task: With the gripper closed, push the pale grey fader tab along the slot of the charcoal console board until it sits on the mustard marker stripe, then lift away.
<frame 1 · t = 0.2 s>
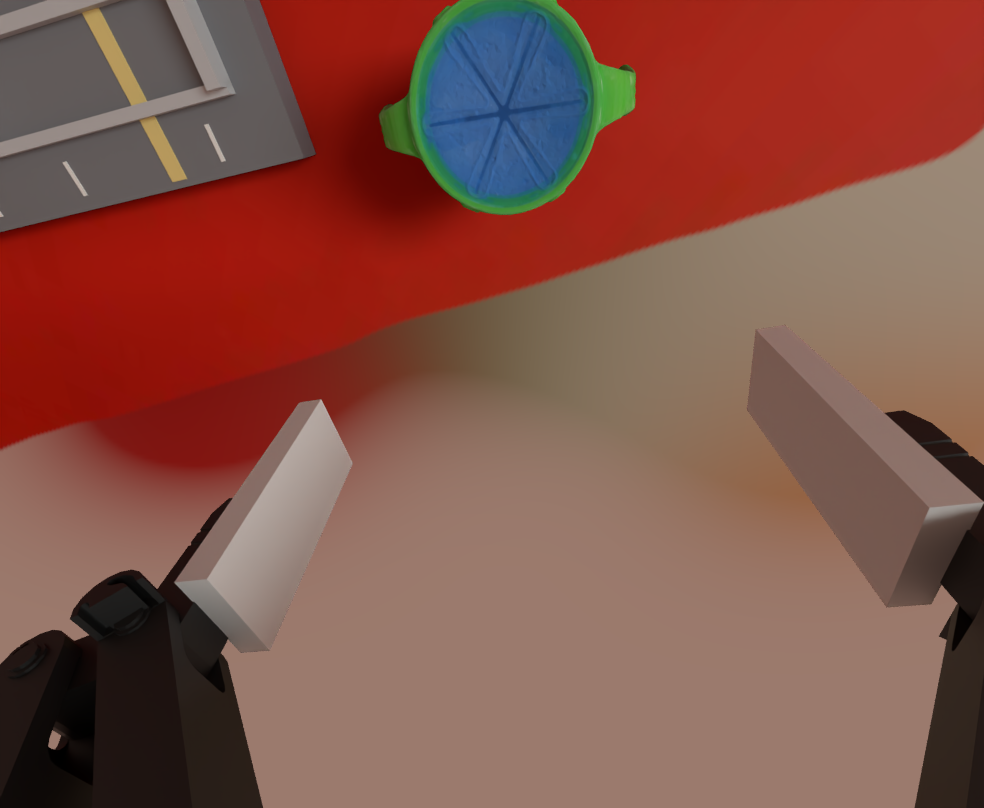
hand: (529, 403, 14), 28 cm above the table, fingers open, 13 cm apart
snack cup: (507, 107, 34), on the table
console: (70, 82, 34), on the table
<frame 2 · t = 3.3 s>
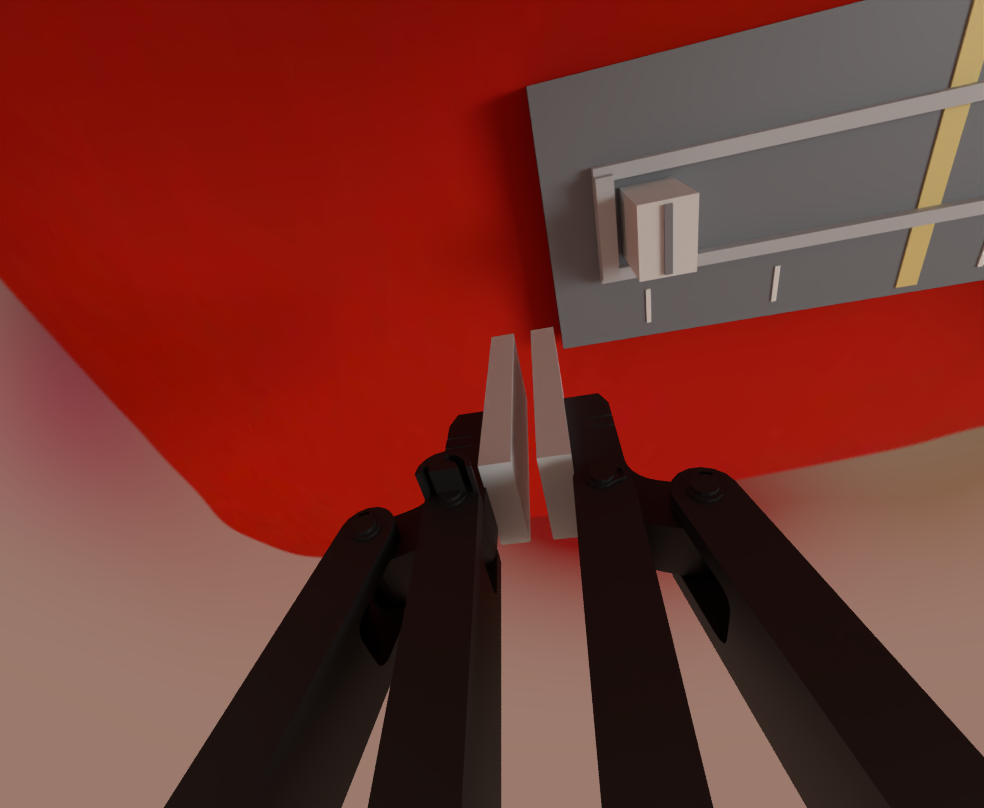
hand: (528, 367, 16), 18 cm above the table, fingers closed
fader tab: (656, 228, 26), point 5 cm above the table, slide at 0.0 cm
console: (803, 174, 29), on the table
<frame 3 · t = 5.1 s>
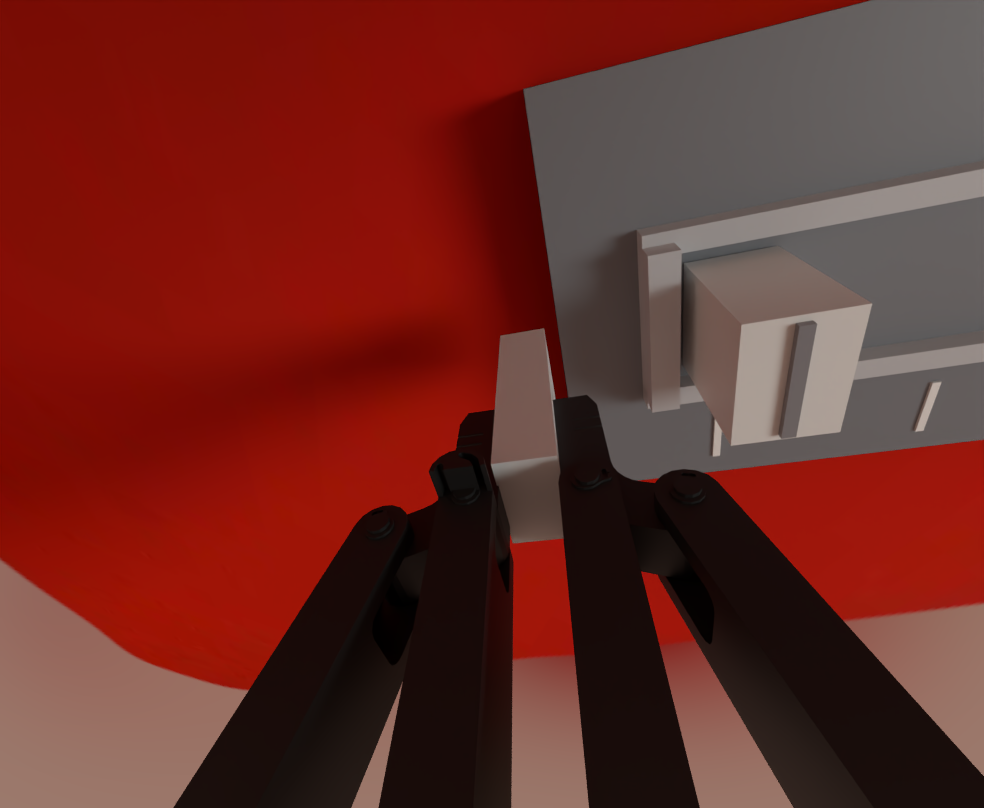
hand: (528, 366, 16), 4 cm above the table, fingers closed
fader tab: (756, 342, 15), point 5 cm above the table, slide at 0.0 cm
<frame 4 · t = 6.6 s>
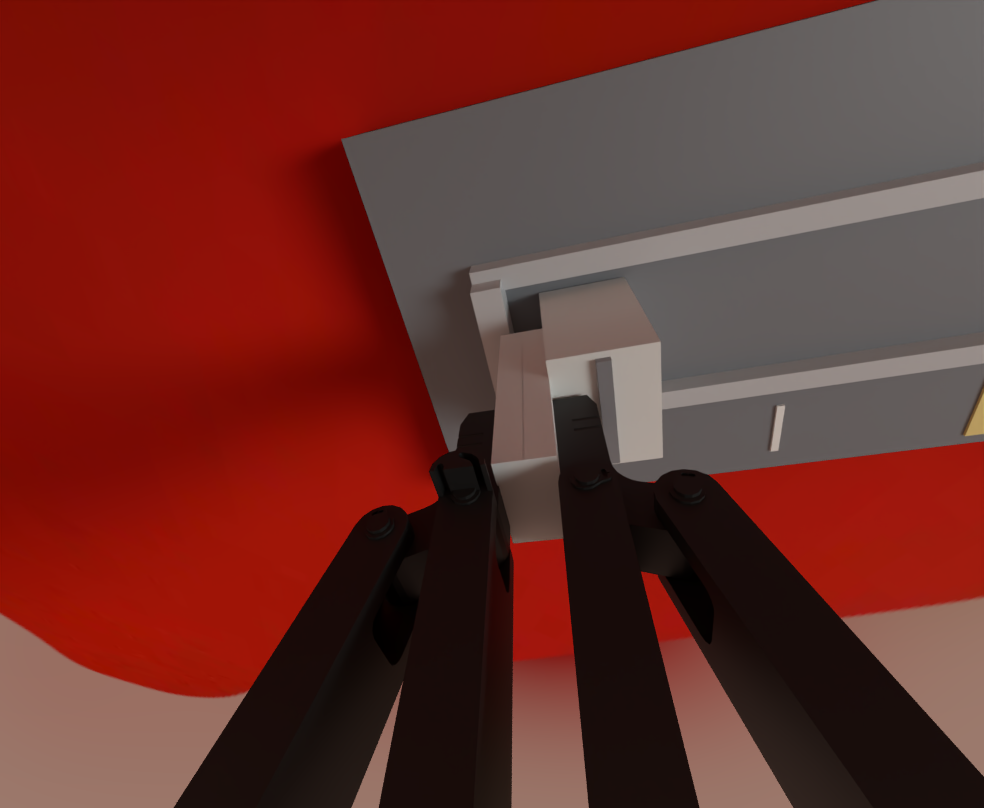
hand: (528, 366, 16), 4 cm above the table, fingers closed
fader tab: (596, 370, 15), point 5 cm above the table, slide at 0.7 cm, touching gripper
console: (820, 265, 18), on the table
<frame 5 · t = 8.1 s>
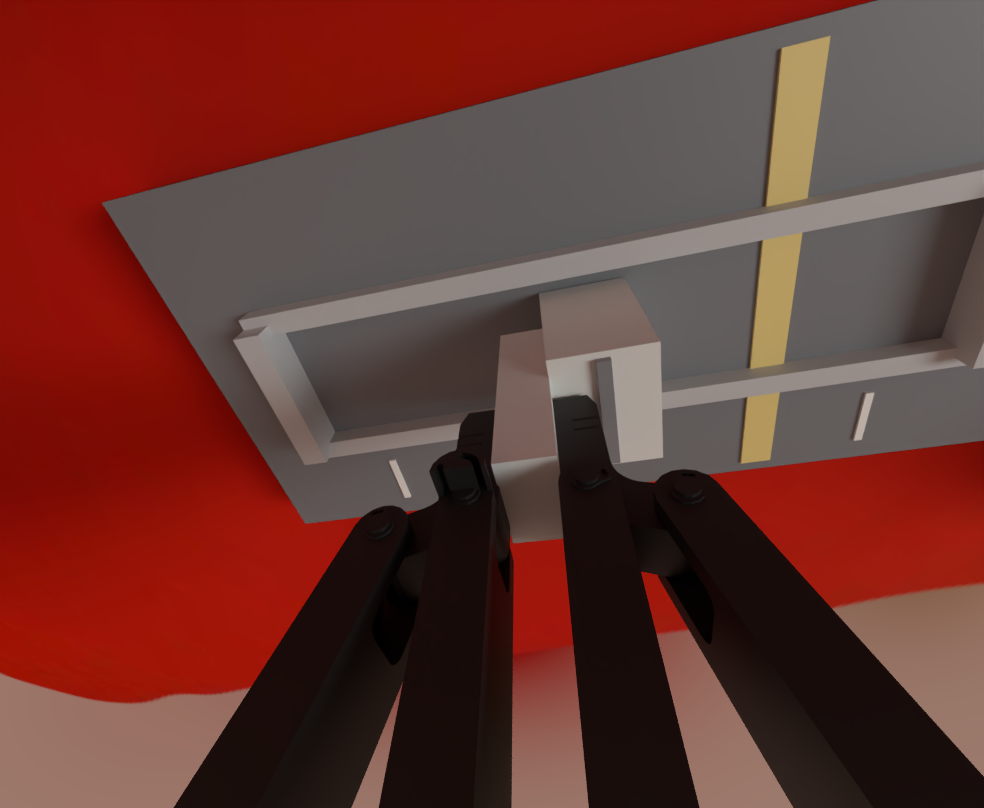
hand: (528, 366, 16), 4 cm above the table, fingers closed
fader tab: (596, 370, 15), point 5 cm above the table, slide at 9.4 cm, touching gripper
console: (593, 307, 20), on the table
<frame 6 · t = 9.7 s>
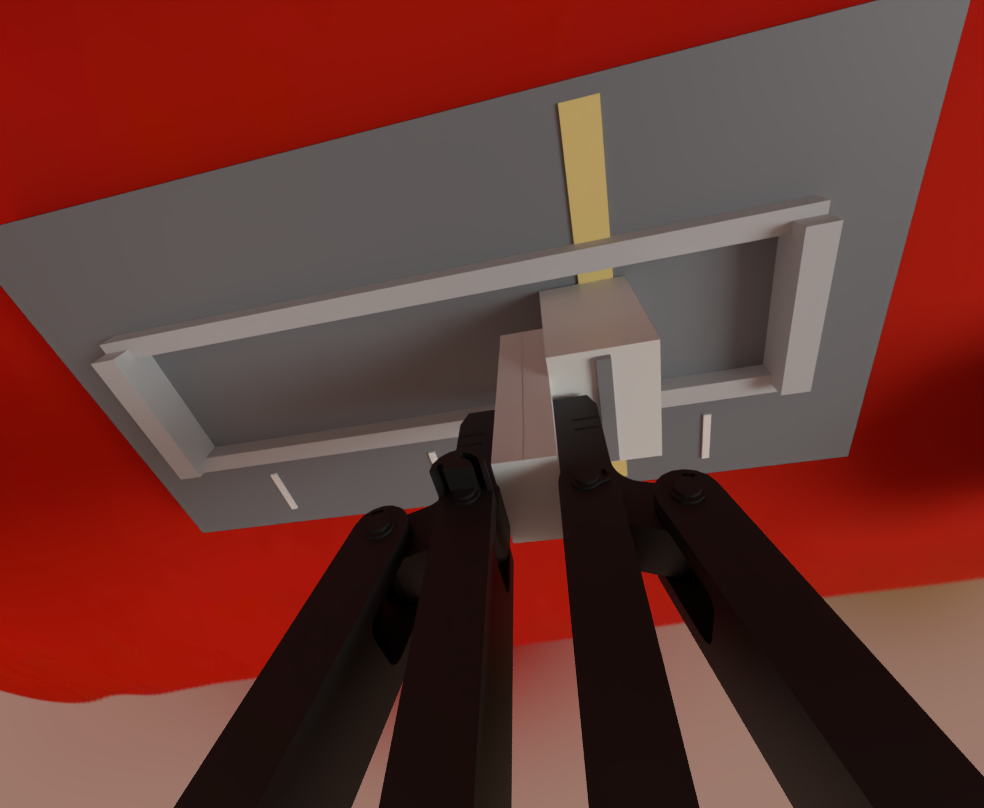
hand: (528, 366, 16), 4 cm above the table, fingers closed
fader tab: (596, 368, 15), point 5 cm above the table, slide at 15.5 cm, touching gripper
console: (454, 330, 21), on the table
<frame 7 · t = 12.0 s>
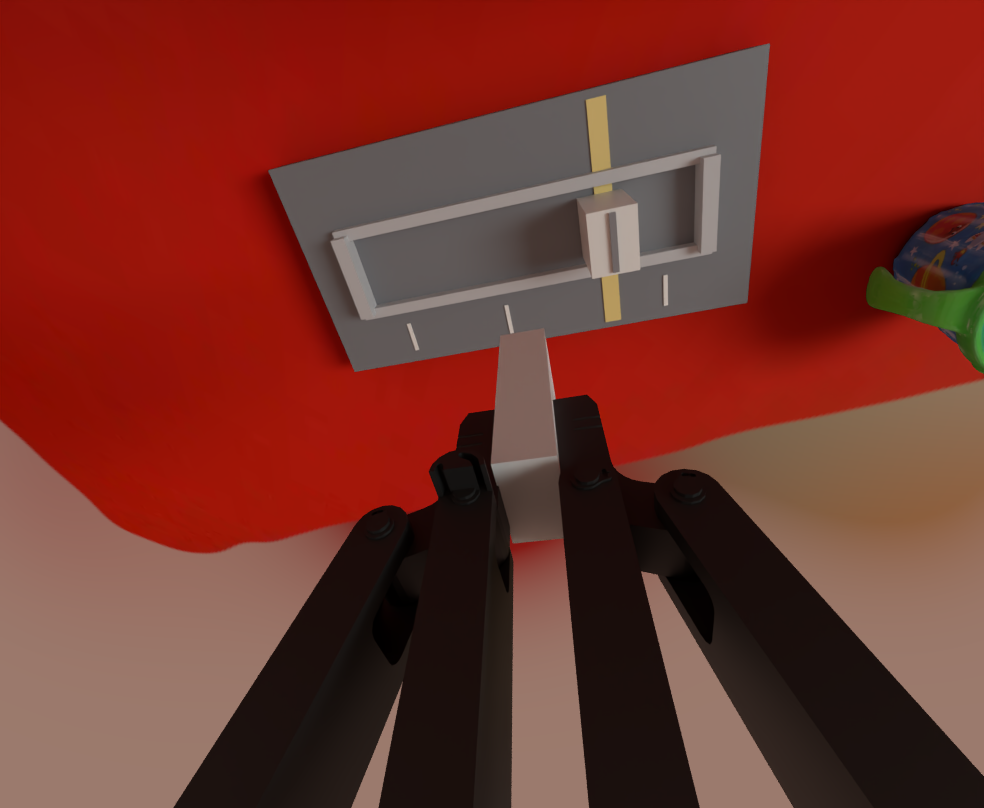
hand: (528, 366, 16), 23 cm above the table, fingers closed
snack cup: (942, 252, 35), on the table
fader tab: (607, 233, 30), point 5 cm above the table, slide at 15.7 cm
console: (520, 232, 36), on the table
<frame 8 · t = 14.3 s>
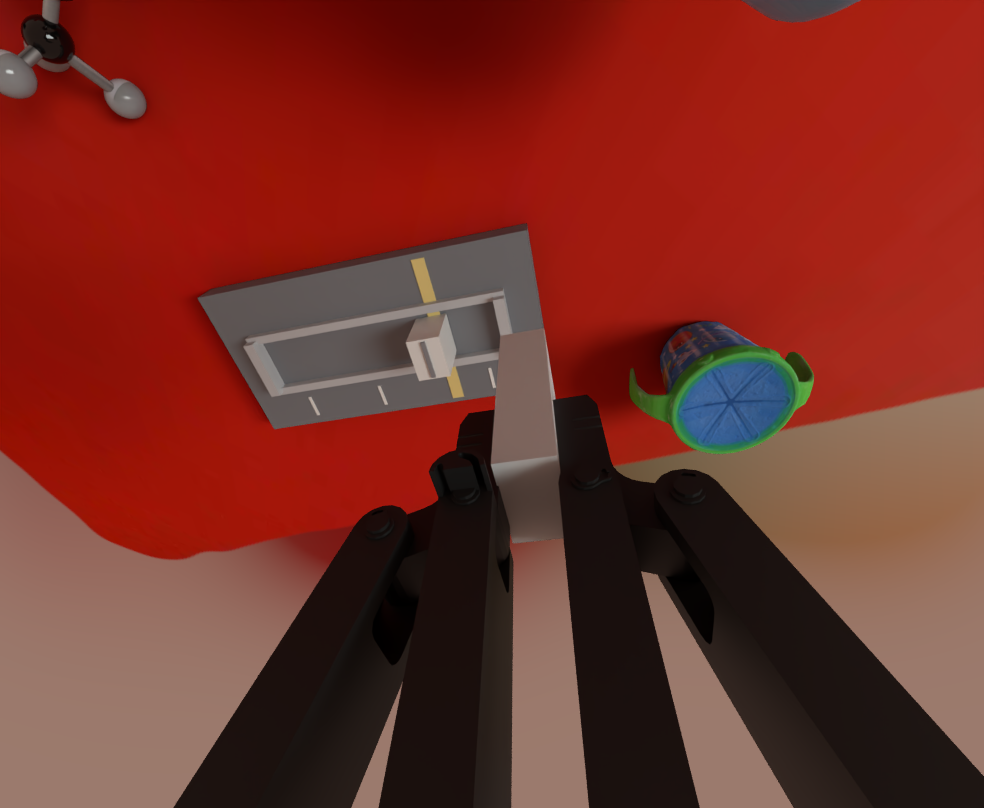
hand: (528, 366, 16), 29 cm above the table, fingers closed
snack cup: (695, 351, 48), on the table
fader tab: (432, 347, 43), point 5 cm above the table, slide at 15.7 cm
molecular model: (111, 12, 35), on the table
console: (387, 333, 49), on the table
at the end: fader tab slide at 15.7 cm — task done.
